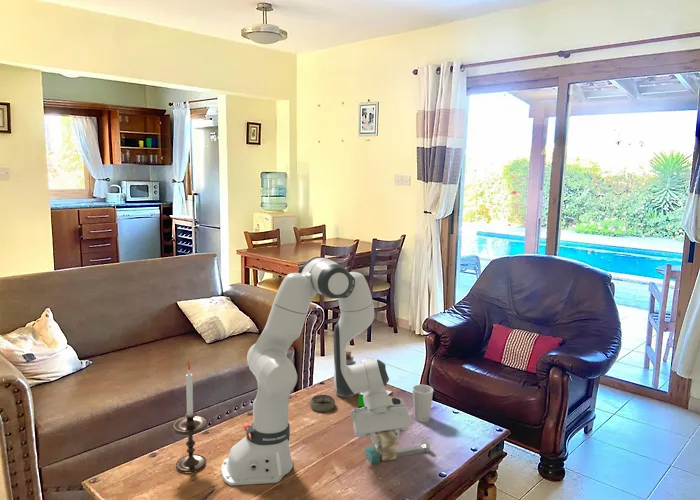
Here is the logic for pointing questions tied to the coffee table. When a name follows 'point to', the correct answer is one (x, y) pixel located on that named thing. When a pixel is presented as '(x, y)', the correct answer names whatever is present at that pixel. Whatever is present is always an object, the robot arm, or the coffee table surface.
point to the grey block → (348, 362)
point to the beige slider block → (387, 445)
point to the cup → (422, 402)
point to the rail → (376, 456)
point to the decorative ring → (322, 407)
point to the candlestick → (190, 431)
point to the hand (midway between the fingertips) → (387, 446)
